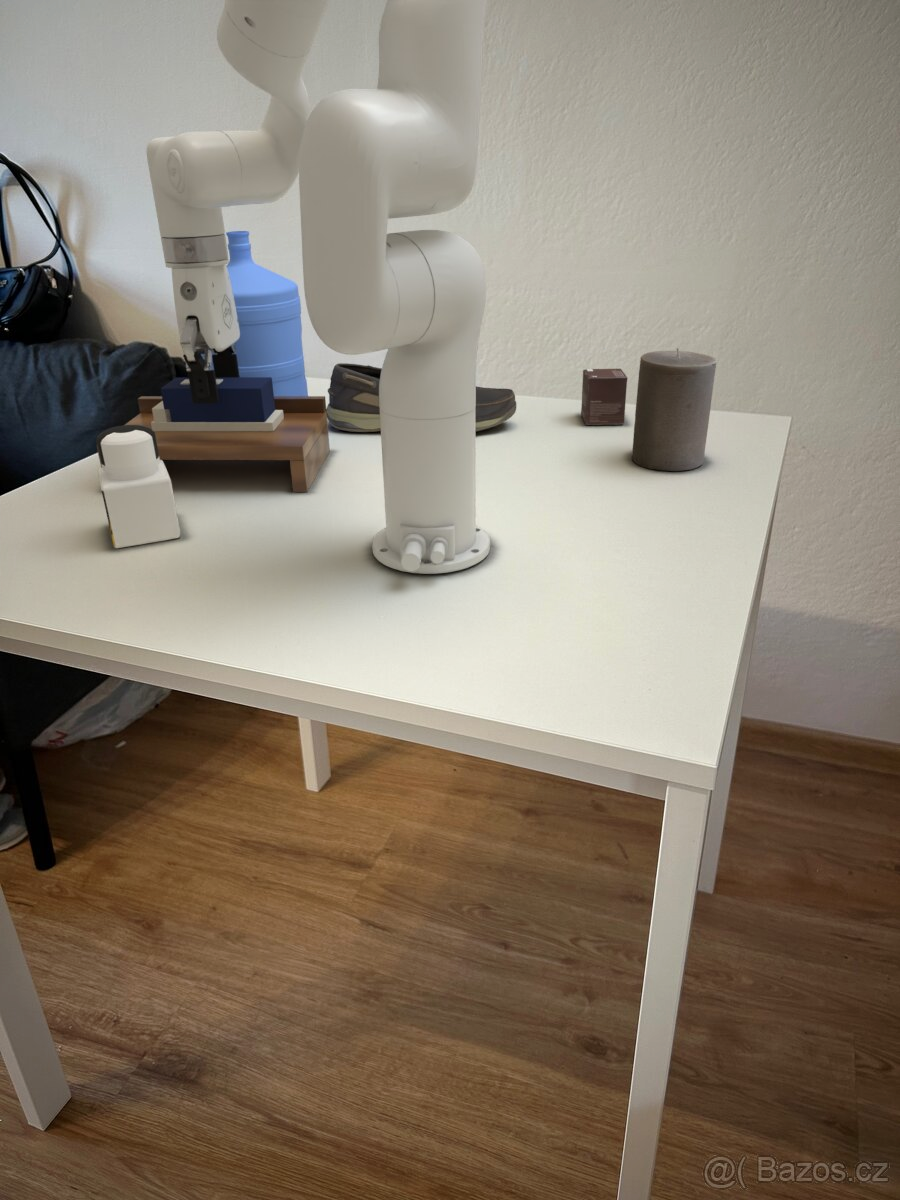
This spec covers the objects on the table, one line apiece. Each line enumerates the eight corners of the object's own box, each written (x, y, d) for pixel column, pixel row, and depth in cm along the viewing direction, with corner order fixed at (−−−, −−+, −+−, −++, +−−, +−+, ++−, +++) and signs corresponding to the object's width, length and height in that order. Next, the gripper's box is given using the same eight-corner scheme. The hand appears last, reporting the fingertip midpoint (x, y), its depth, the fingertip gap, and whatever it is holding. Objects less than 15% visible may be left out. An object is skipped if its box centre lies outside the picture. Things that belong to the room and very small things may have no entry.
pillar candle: (625, 467, 115) (635, 353, 108) (637, 445, 123) (647, 338, 116) (700, 475, 112) (715, 358, 105) (707, 452, 120) (722, 342, 113)
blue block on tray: (283, 418, 116) (279, 375, 114) (273, 431, 111) (268, 386, 108) (168, 418, 117) (160, 375, 115) (152, 431, 112) (144, 387, 109)
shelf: (307, 492, 108) (301, 430, 105) (106, 491, 110) (92, 430, 106) (329, 451, 123) (325, 396, 119) (151, 451, 124) (141, 396, 120)
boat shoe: (517, 437, 127) (519, 363, 122) (321, 438, 128) (314, 366, 123) (514, 416, 137) (516, 347, 132) (331, 418, 138) (325, 349, 133)
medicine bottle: (109, 526, 100) (87, 425, 94) (173, 516, 102) (155, 416, 96) (114, 549, 94) (91, 443, 88) (181, 538, 96) (162, 434, 91)
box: (624, 425, 132) (628, 377, 128) (584, 426, 132) (587, 377, 128) (618, 414, 137) (621, 367, 134) (580, 414, 137) (582, 368, 134)
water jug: (281, 446, 125) (258, 238, 112) (188, 437, 130) (156, 236, 116) (328, 417, 138) (313, 227, 125) (242, 409, 143) (219, 226, 129)
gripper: (203, 258, 96) (227, 410, 104) (245, 244, 112) (262, 377, 119) (138, 260, 97) (166, 411, 104) (188, 246, 112) (209, 379, 120)
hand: (217, 393), depth 112 cm, fingers open, 9 cm apart
